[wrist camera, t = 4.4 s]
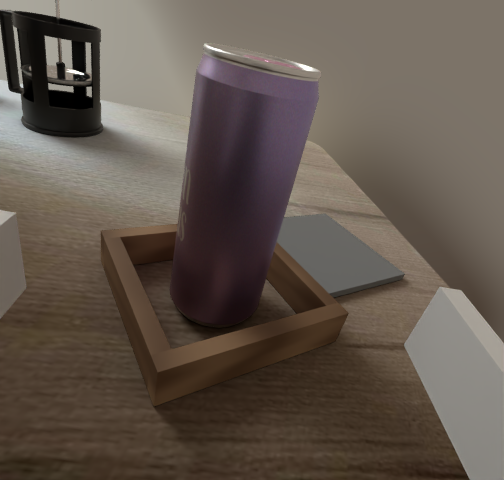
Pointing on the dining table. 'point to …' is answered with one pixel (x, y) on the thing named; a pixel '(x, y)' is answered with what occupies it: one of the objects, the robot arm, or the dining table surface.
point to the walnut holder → (221, 347)
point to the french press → (53, 73)
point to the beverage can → (237, 178)
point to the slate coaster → (334, 255)
